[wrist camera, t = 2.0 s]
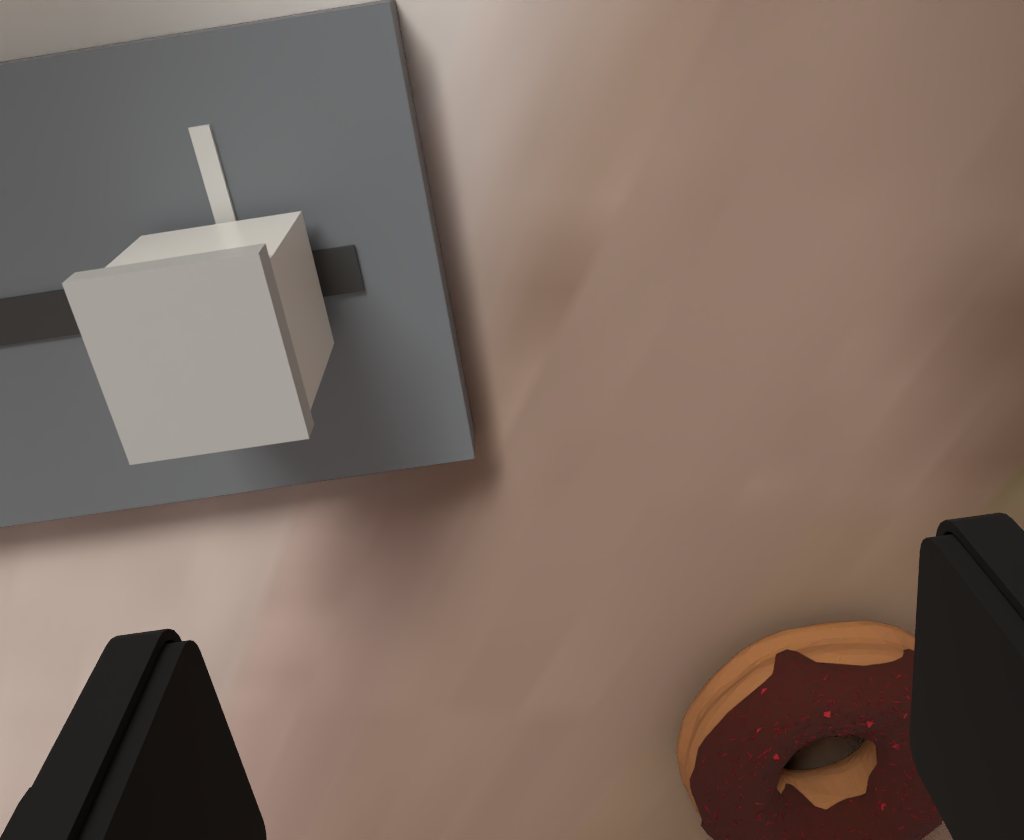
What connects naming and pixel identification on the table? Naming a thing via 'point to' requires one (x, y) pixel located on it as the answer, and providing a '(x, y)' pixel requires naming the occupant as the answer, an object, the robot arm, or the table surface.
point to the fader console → (213, 200)
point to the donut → (808, 739)
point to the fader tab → (207, 337)
